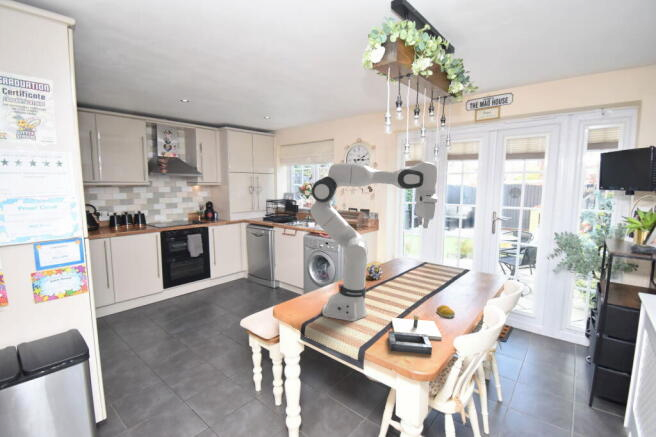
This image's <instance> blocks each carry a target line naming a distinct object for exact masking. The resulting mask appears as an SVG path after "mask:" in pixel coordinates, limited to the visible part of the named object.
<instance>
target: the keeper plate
mask: <svg viewBox="0 0 656 437" xmlns="http://www.w3.org/2000/svg"><path fill="white" fill-rule="evenodd" d="M412 318H413V319H410V318H409V319H408V318H398V317H397V318H396V317H391V320H390V321H391V325H392V329H393V330H392V331H394V332H405V333H416V334H427V337H428V339H429V340H438V341H440V340H441V341H442V338H443V336H442V334H441V333H440V331H439V329H438V327H437V326H438V325H436V323H435V321H434V320H433V321H432V320H424V319H423V320H421V319H419V318H420V317H419V315H418V314H414V315H413V316H412Z"/></svg>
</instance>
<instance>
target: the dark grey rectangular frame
mask: <svg viewBox="0 0 656 437" xmlns="http://www.w3.org/2000/svg"><path fill="white" fill-rule="evenodd" d="M387 336H388V343H389V344H388V345H389V348H390V349H389V350H390V351H391V352H401V353H402V352H403V353H411V354H412V353H413V354H423V355H432V353H433V352H432V351H433V346H432V344H431V342H430V339H428V337H427V334H416V333H405V332H394V330H391V331H390V330H389V331H388V335H387Z"/></svg>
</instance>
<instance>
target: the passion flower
mask: <svg viewBox="0 0 656 437" xmlns="http://www.w3.org/2000/svg"><path fill="white" fill-rule="evenodd" d="M366 272H368V275H369V277H372V279H373V280H376V281H377V280H379V278H382V273H384V272H383V270H382V268H380V266H378V264H374V263H371V265H370V266H367V267H366Z"/></svg>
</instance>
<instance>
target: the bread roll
mask: <svg viewBox="0 0 656 437" xmlns="http://www.w3.org/2000/svg"><path fill="white" fill-rule="evenodd" d="M436 313H437V314H438V315H439V316H441V317H443V318H448V319H449V318H450V319H451V318H453V317H454V316H455V311H454V310H453V309H451V307H449V306H448V305H445V304H442V305H439V306H437V307H436Z"/></svg>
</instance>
